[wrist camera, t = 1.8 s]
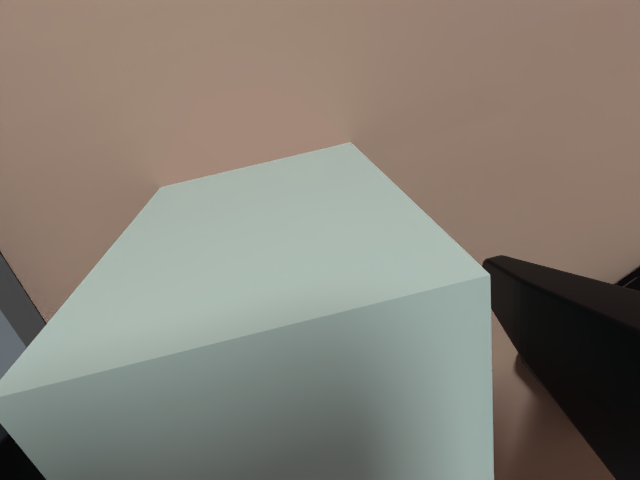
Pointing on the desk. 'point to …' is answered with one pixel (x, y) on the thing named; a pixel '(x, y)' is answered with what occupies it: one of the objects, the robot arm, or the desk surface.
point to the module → (267, 339)
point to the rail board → (15, 319)
